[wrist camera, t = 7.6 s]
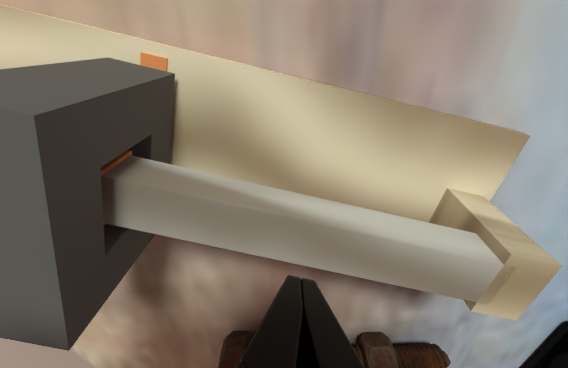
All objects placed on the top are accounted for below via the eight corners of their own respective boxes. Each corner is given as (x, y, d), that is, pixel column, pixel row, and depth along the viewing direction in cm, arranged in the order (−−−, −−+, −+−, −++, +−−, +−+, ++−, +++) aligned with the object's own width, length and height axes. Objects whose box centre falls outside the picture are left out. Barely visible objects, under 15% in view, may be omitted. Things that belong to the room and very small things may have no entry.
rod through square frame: (433, 279, 19) (485, 376, 14) (20, 190, 18) (-104, 258, 12) (521, 132, 15) (651, 188, 9) (-17, -1, 14) (-233, -26, 8)
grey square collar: (166, 218, 17) (68, 350, 10) (113, 207, 17) (-25, 332, 10) (175, 73, 14) (33, 115, 6) (108, 57, 13) (-114, 81, 6)
